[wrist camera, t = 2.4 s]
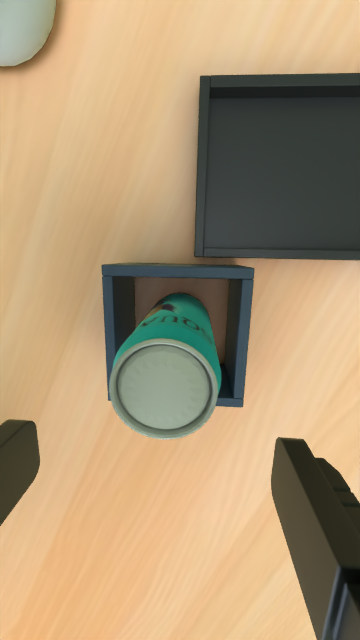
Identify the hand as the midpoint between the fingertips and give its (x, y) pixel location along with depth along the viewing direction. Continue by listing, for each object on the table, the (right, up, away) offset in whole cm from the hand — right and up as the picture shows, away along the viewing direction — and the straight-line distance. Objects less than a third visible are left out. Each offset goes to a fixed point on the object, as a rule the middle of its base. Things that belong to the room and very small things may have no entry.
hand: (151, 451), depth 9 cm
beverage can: (+1, +4, +18) cm, 19 cm away
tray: (+11, +17, +15) cm, 25 cm away
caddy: (+1, +4, +18) cm, 19 cm away
